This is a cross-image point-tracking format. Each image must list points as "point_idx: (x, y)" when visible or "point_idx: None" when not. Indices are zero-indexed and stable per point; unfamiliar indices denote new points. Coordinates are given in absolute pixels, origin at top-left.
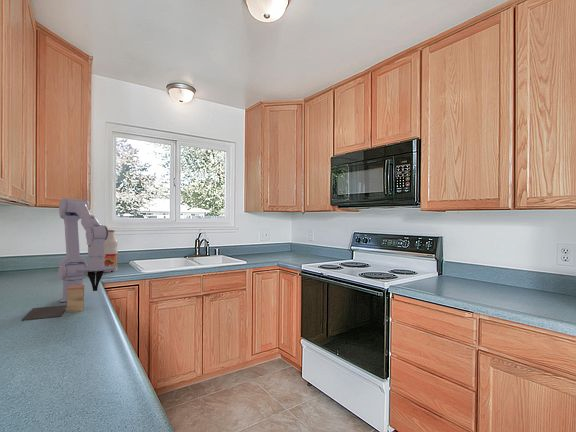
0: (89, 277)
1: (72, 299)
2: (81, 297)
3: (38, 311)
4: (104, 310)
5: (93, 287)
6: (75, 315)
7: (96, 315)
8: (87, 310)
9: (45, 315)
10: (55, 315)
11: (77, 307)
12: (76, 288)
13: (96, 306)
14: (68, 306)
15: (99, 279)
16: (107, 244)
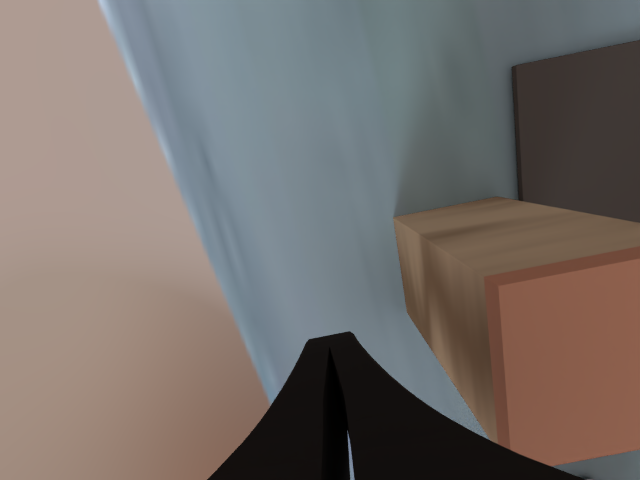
0: (509, 461)
1: (523, 219)
2: (446, 240)
3: None
4: (225, 191)
5: (351, 350)
6: (410, 80)
7: (242, 34)
8: (358, 221)
9: (629, 106)
10: (558, 85)
11: (438, 216)
12: (588, 263)
13: (323, 328)
14: (513, 203)
15: (237, 461)
16: None
